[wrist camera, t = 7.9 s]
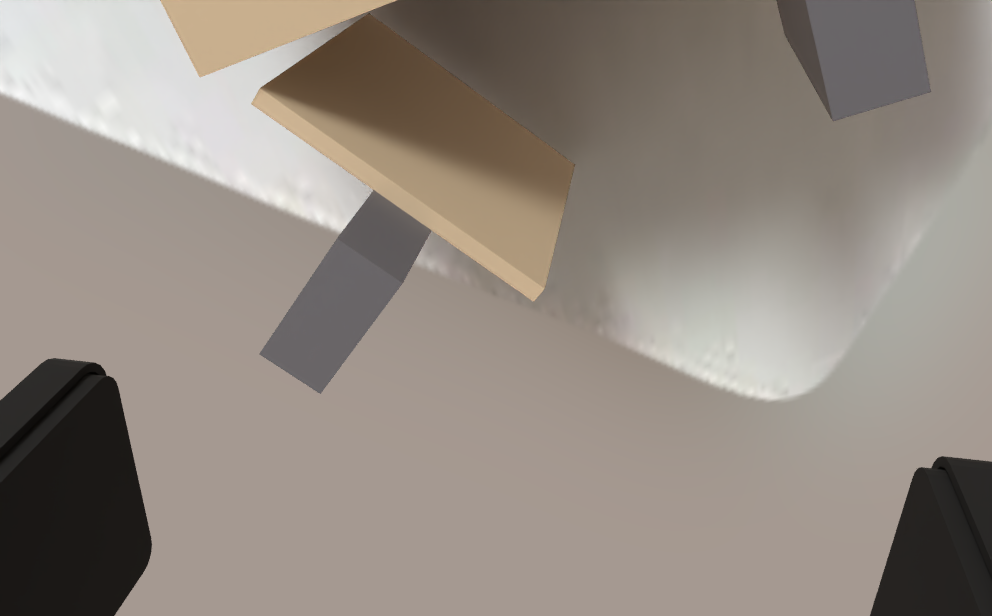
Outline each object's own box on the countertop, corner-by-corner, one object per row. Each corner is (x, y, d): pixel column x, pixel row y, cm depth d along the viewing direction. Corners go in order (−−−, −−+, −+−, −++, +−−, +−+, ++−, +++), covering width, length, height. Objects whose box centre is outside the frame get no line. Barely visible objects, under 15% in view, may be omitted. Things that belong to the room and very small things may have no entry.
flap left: (574, 164, 33) (530, 348, 21) (503, 254, 35) (428, 464, 24) (369, 13, 31) (206, 125, 20) (307, 116, 33) (128, 269, 22)
